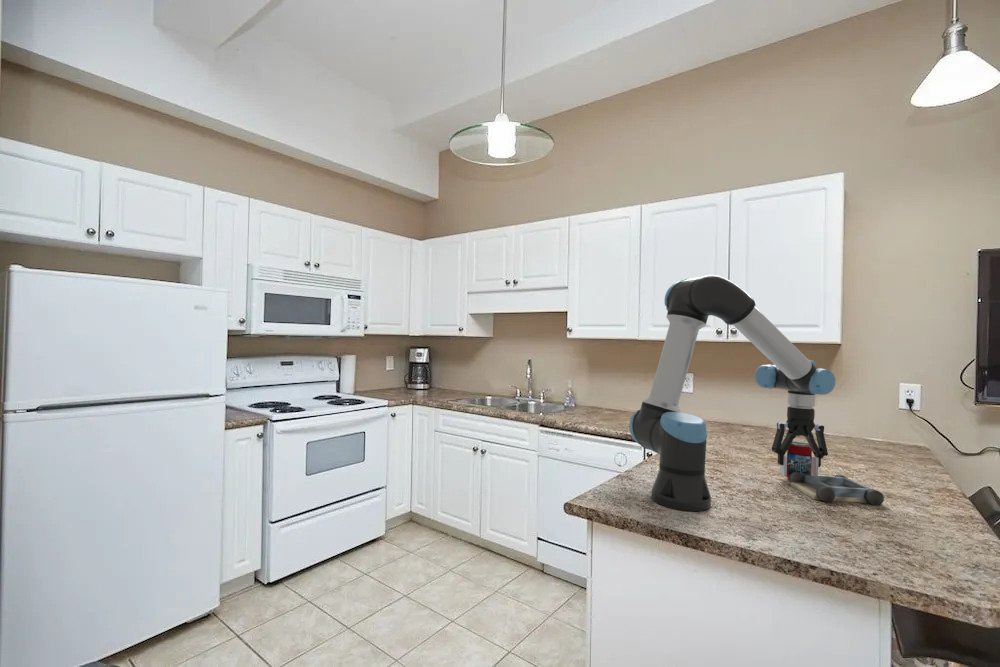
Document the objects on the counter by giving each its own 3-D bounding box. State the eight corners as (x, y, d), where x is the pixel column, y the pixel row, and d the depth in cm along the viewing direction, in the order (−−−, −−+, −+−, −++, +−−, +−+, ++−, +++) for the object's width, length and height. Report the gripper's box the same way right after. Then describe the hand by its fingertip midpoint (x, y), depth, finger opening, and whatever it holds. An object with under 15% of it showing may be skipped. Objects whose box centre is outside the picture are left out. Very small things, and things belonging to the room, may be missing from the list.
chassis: (818, 501, 132) (818, 487, 132) (787, 484, 148) (787, 471, 148) (885, 505, 130) (886, 491, 130) (847, 487, 146) (847, 474, 146)
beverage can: (788, 481, 150) (789, 444, 150) (784, 476, 157) (785, 440, 157) (813, 485, 148) (814, 447, 148) (808, 479, 154) (809, 442, 154)
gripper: (828, 406, 155) (826, 474, 155) (760, 403, 157) (758, 470, 157) (843, 410, 148) (841, 481, 148) (772, 406, 149) (769, 477, 149)
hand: (798, 475), depth 152 cm, fingers open, 9 cm apart
